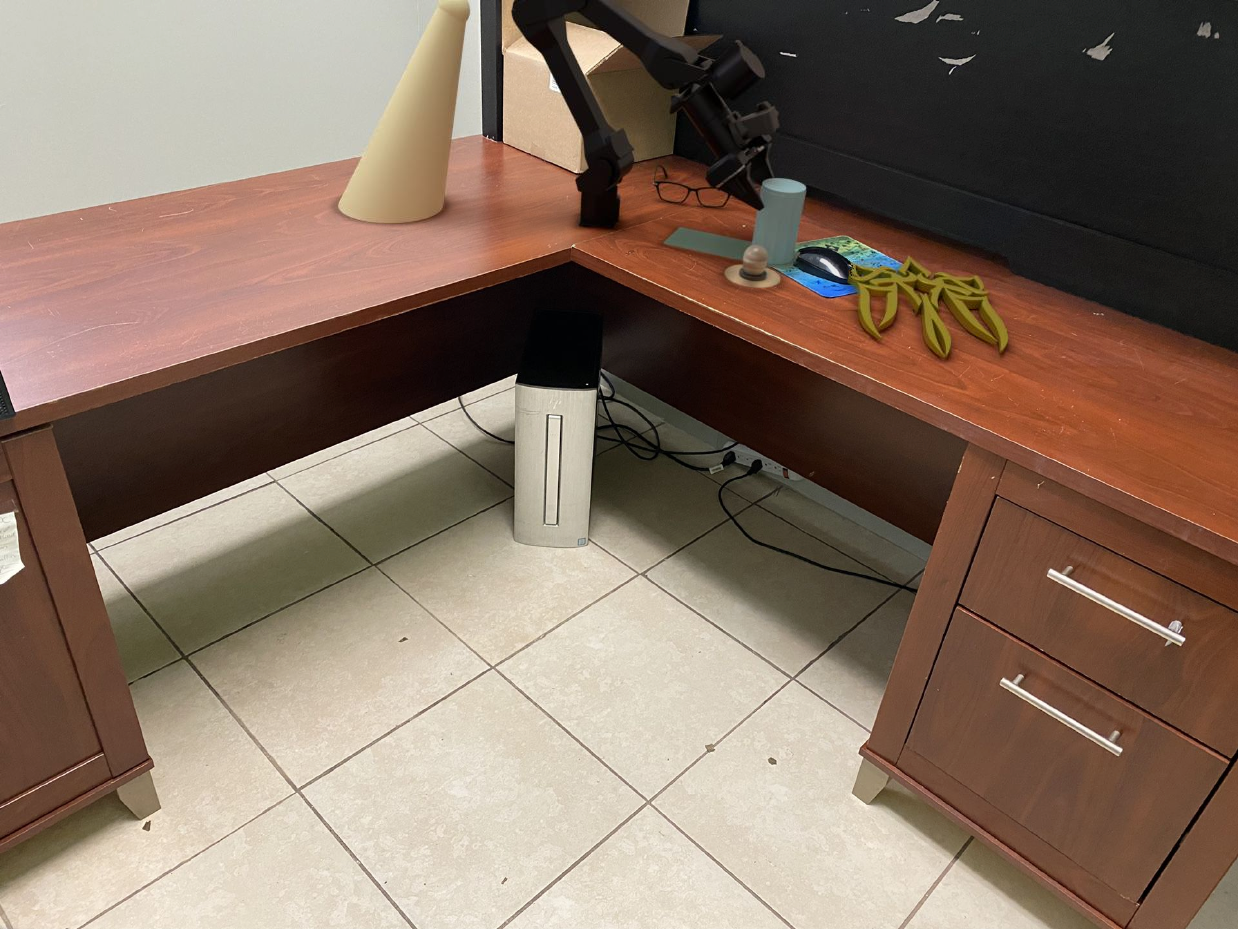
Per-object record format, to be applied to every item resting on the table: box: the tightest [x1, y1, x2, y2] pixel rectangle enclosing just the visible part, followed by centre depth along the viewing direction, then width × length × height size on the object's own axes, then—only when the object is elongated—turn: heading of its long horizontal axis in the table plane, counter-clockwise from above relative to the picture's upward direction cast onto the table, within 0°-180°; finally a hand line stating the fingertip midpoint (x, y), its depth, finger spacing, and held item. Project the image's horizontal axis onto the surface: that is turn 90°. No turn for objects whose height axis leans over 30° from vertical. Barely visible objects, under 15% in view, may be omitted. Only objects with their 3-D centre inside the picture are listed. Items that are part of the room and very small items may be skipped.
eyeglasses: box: [652, 164, 732, 209], centre depth 170 cm, size 16×16×4 cm
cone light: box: [337, 0, 471, 224], centre depth 144 cm, size 25×18×35 cm
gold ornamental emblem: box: [847, 254, 1009, 359], centre depth 133 cm, size 22×2×35 cm
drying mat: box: [662, 226, 801, 272], centre depth 148 cm, size 22×9×1 cm, turn 68°
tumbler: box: [751, 177, 807, 264], centre depth 142 cm, size 7×7×12 cm
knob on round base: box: [723, 245, 781, 289], centre depth 137 cm, size 9×9×6 cm
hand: (769, 200), depth 141 cm, fingers open, 9 cm apart
